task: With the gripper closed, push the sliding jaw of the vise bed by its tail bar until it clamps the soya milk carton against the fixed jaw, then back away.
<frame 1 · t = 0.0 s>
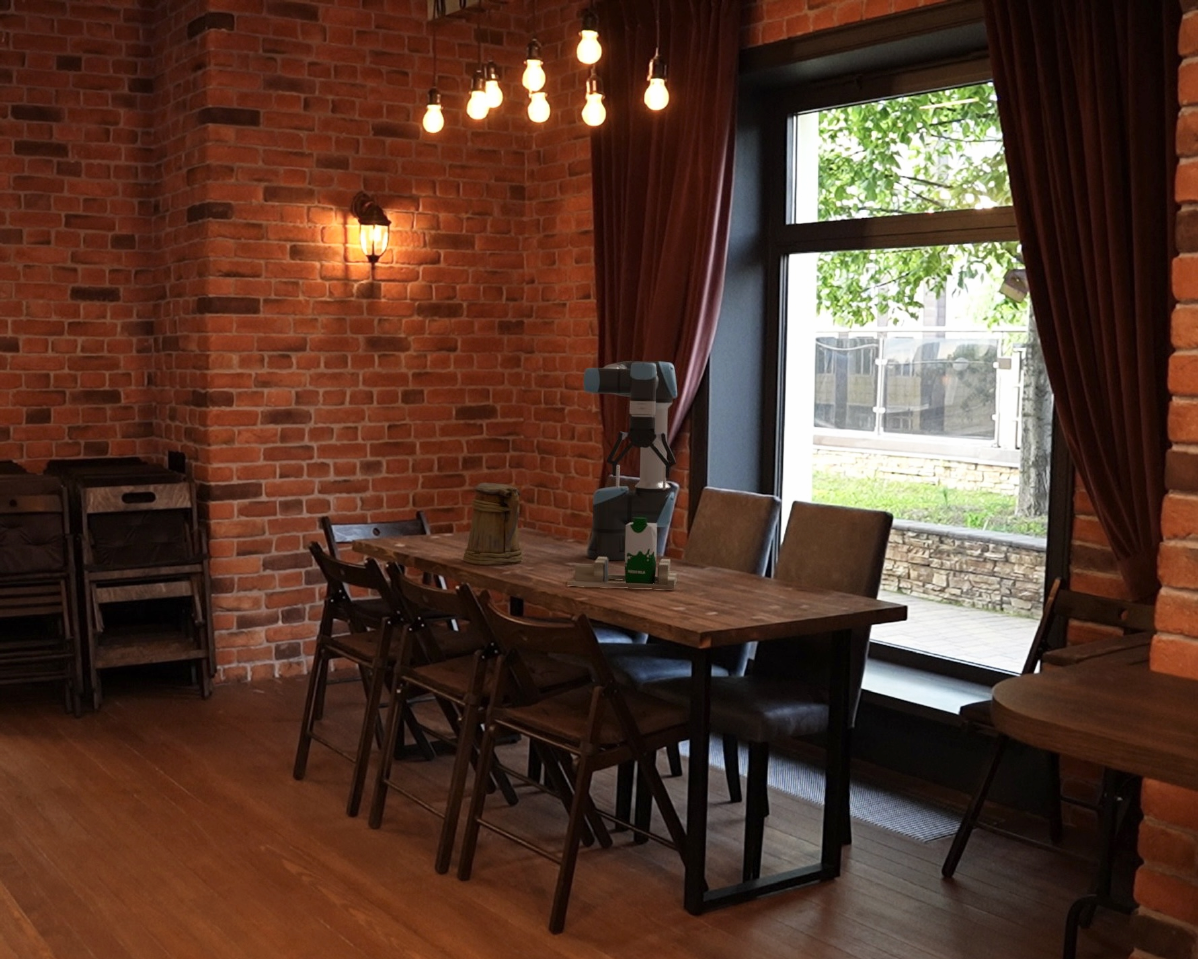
hand: (640, 488, 399), 28 cm above the table, tool pointing down, fingers open, 13 cm apart
soya milk: (640, 585, 399), resting in vise bed
vise bed: (626, 584, 399), on the table
sliding jaw: (591, 570, 400), point 4 cm above the table, slide at 0.0 cm
tankard: (497, 563, 436), on the table
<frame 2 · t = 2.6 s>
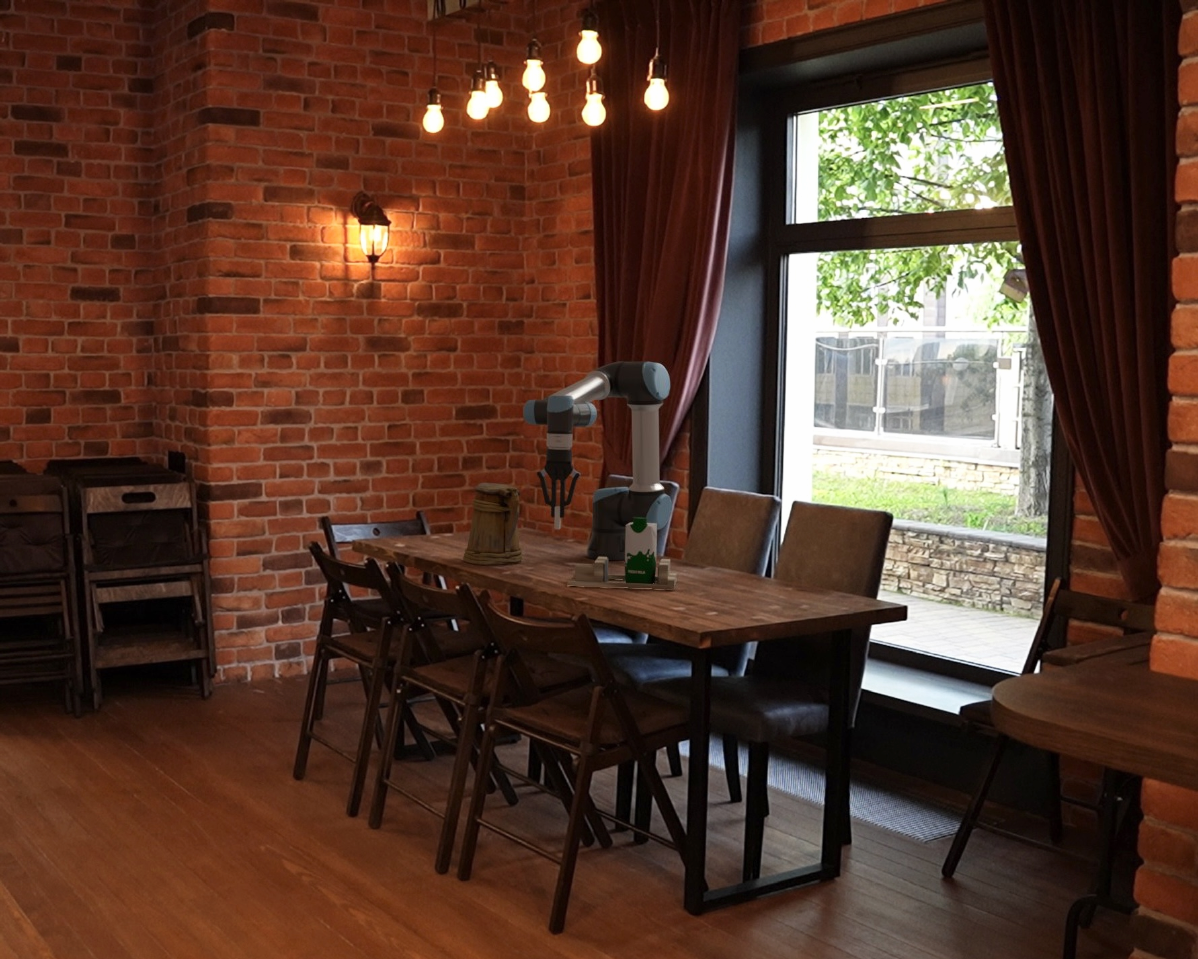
hand: (557, 528, 400), 16 cm above the table, tool pointing down, fingers closed
nothing on the table moved.
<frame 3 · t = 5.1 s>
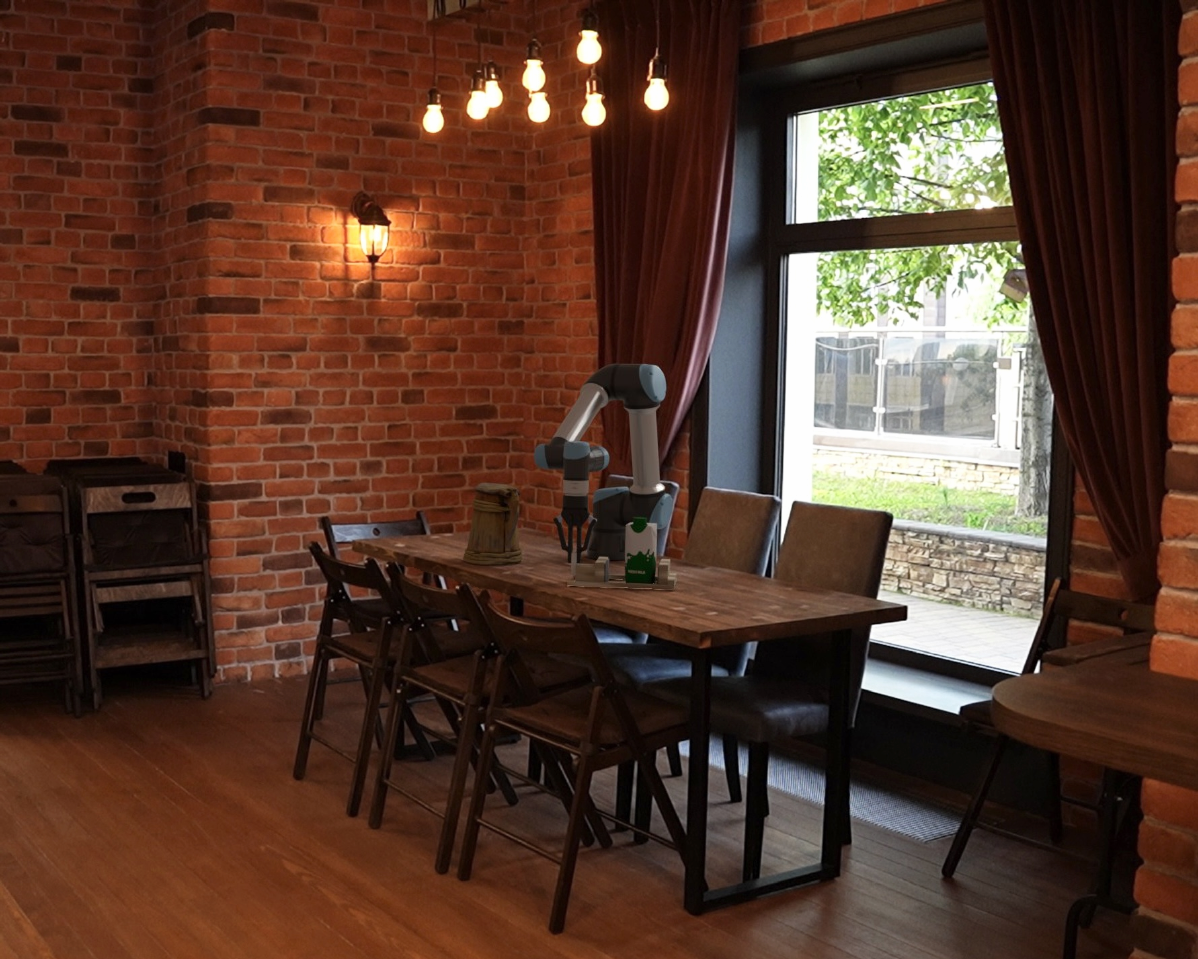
hand: (574, 574, 401), 2 cm above the table, tool pointing down, fingers closed
sliding jaw: (591, 570, 400), point 4 cm above the table, slide at 0.3 cm, touching gripper
everything else where it was.
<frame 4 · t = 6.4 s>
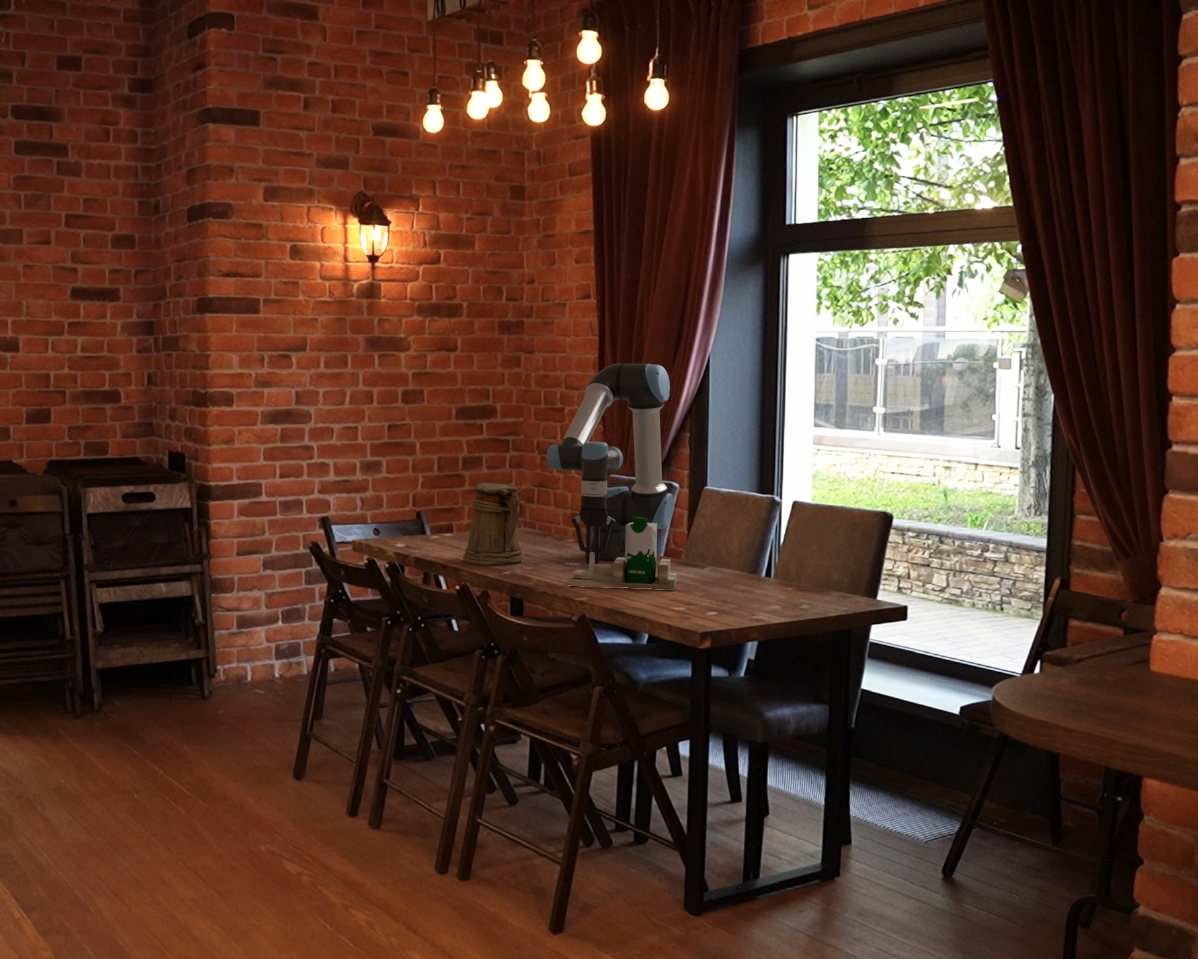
hand: (592, 575, 400), 2 cm above the table, tool pointing down, fingers closed
soya milk: (640, 585, 399), resting in vise bed, touching sliding jaw
sliding jaw: (610, 571, 400), point 4 cm above the table, slide at 5.6 cm, touching gripper, soya milk
everything else where it was.
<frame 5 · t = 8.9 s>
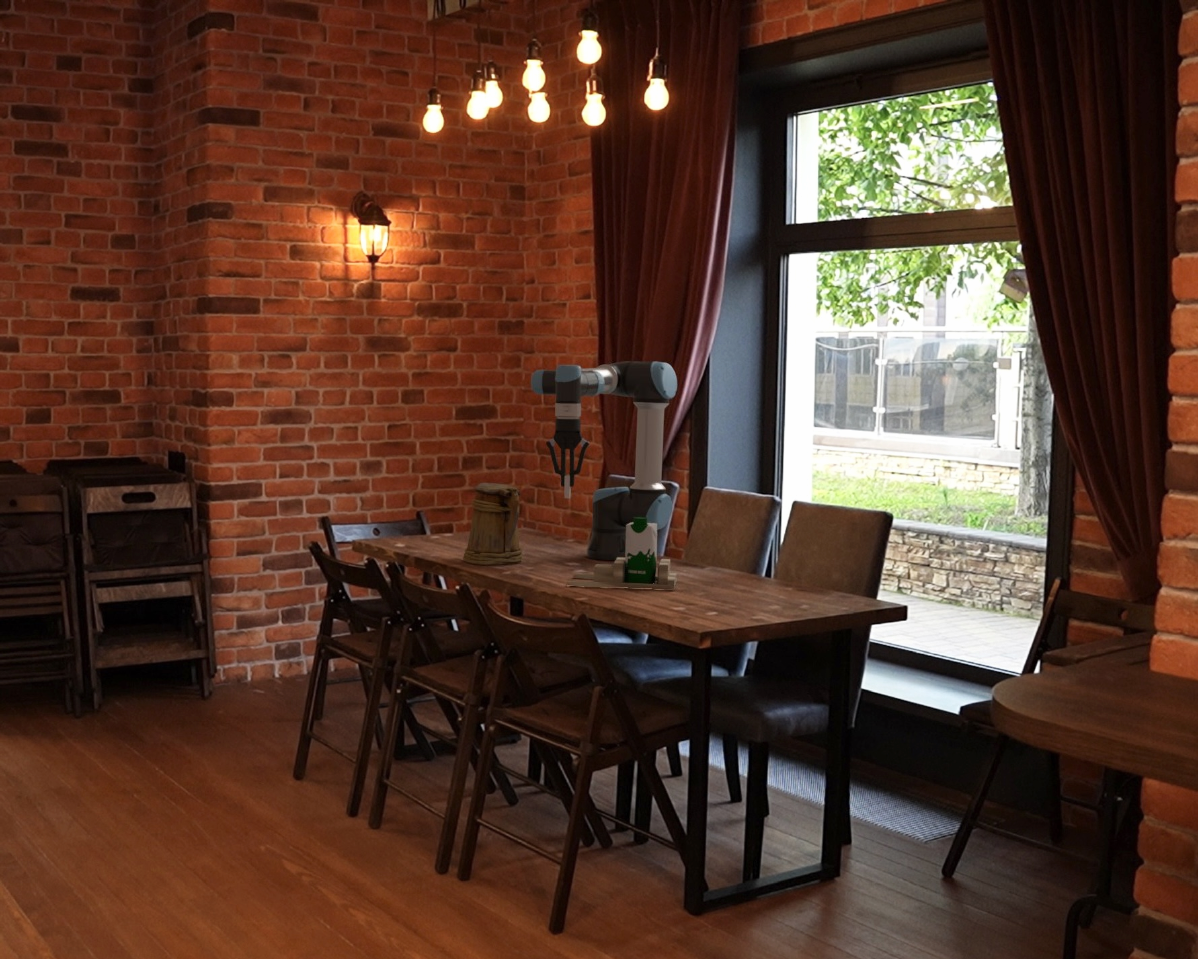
hand: (567, 497, 403), 25 cm above the table, tool pointing down, fingers closed
soya milk: (640, 585, 399), resting in vise bed
sliding jaw: (610, 571, 400), point 4 cm above the table, slide at 5.6 cm
everything else where it was.
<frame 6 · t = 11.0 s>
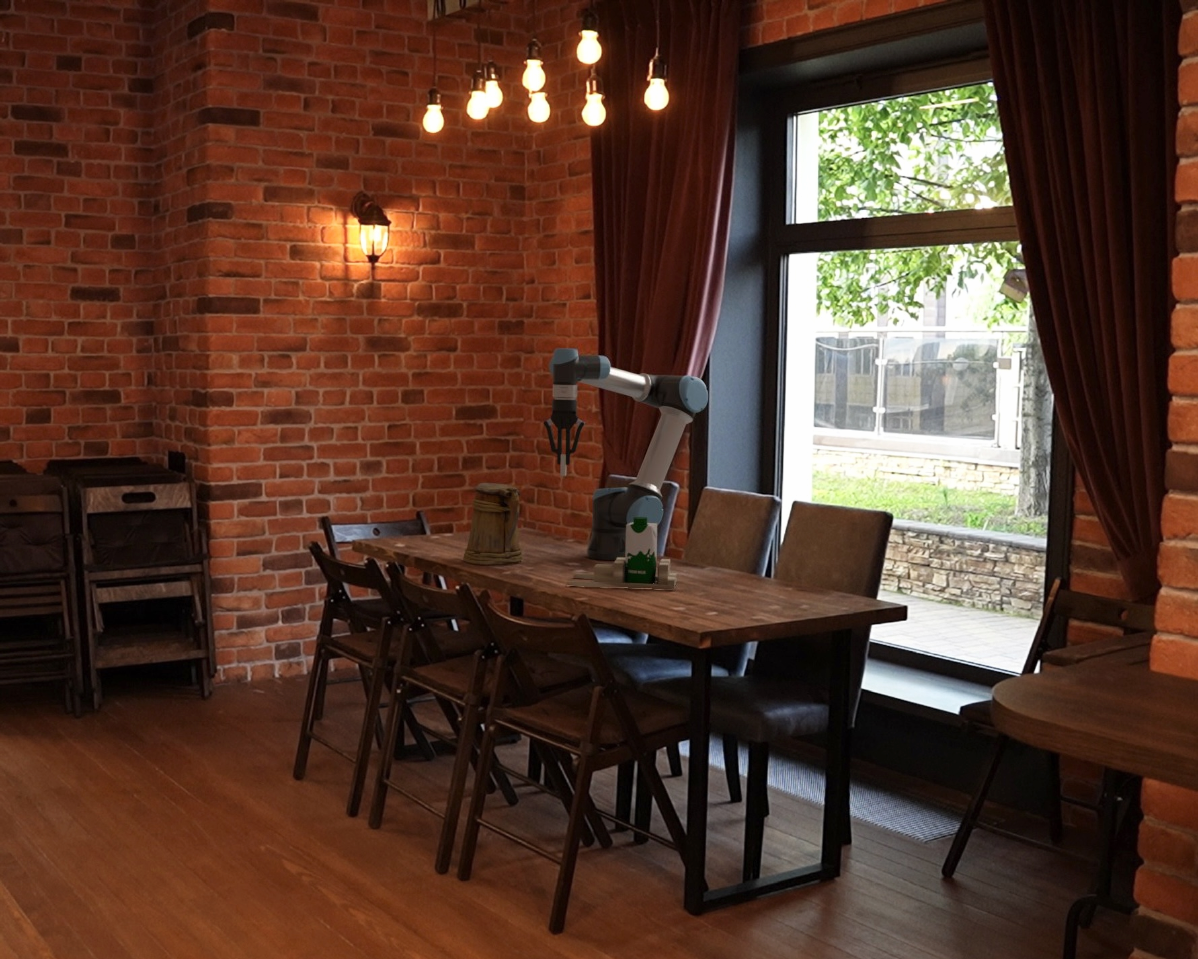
hand: (563, 475, 421), 29 cm above the table, tool pointing down, fingers closed
nothing on the table moved.
at the end: sliding jaw slide at 5.6 cm; soya milk inside the target area (0.7 cm from its centre), resting in vise bed; soya milk tilted 0° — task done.
